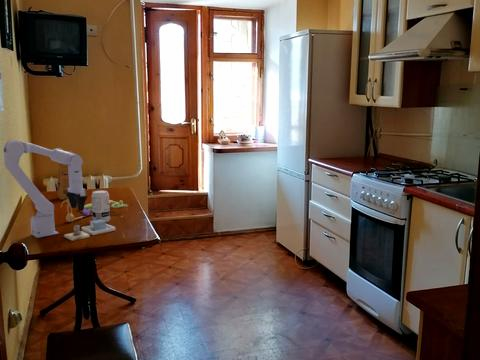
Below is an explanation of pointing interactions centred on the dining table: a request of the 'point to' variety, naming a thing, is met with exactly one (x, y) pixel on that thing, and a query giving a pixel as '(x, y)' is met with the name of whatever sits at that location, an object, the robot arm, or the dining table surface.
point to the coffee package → (63, 181)
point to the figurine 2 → (88, 207)
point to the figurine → (69, 216)
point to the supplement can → (100, 205)
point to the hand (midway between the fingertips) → (77, 209)
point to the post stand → (77, 234)
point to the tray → (108, 229)
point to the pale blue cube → (97, 225)
